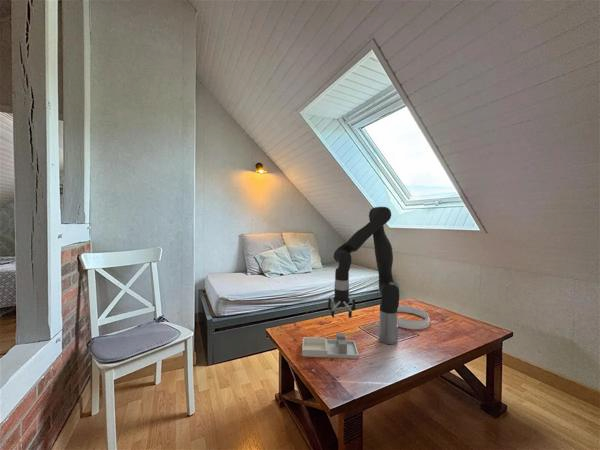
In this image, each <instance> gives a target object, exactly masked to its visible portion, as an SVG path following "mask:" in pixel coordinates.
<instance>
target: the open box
mask: <svg viewBox="0 0 600 450" xmlns="http://www.w3.org/2000/svg"><path fill="white" fill-rule="evenodd" d="M326 339H327V337H317V336H315V337H314V336H313V337H312V336H303V337H302V348H301V351H302V352H301V357H309V358H311V357H313V358H314V357H315V358H328V357H327V342H326Z"/></svg>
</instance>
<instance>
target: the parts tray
mask: <svg viewBox="0 0 600 450" xmlns="http://www.w3.org/2000/svg"><path fill="white" fill-rule="evenodd" d="M345 340H346V342H347V354H338V348H337V339H335V338H334V339H333V338H326V342H327V357H326V358H338V359H339V358H341V359H342V358H343V359H360V354H359V350H358V349H357V345H356V342H355V340H354V339H345Z"/></svg>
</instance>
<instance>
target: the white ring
mask: <svg viewBox="0 0 600 450" xmlns="http://www.w3.org/2000/svg"><path fill="white" fill-rule="evenodd" d="M397 313H410V314H413V315H416V316H419V317H421V318H423V319H422V320H410V319H405V318H401V317H398V316H397V326H398V328H399V327H400V328H403V329H408V330H425V329H427V328H429V327H430V324H431V318H430V316H429V314H428V312H427V311H425V310H423V309H421V308H419V307H415V306H411V305H404V304H399V306H398V309H397Z"/></svg>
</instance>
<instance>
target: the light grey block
mask: <svg viewBox="0 0 600 450" xmlns="http://www.w3.org/2000/svg"><path fill="white" fill-rule="evenodd" d="M346 340H347V339H345V340H338V354H347V342H346Z"/></svg>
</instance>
